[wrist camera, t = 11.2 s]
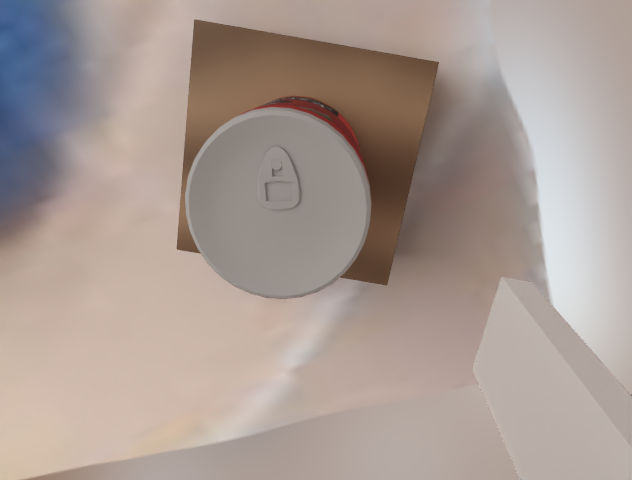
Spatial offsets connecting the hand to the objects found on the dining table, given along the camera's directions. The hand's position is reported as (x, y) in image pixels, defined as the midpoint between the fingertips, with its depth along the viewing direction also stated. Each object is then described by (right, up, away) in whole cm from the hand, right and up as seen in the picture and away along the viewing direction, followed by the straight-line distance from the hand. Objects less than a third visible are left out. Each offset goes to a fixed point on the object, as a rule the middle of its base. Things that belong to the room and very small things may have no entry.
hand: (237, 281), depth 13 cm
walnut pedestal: (+1, +8, +23) cm, 25 cm away
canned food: (+1, +6, +18) cm, 19 cm away
